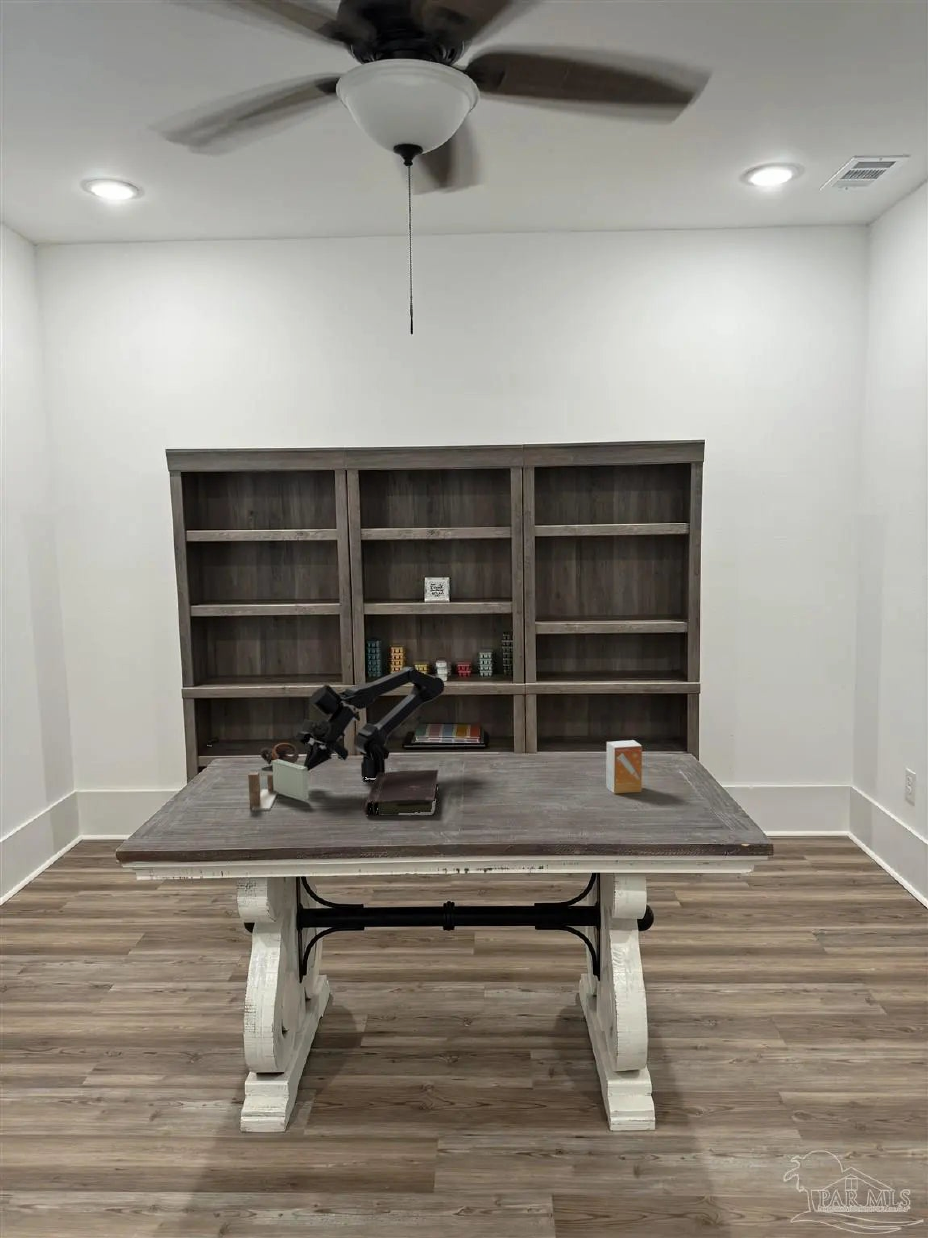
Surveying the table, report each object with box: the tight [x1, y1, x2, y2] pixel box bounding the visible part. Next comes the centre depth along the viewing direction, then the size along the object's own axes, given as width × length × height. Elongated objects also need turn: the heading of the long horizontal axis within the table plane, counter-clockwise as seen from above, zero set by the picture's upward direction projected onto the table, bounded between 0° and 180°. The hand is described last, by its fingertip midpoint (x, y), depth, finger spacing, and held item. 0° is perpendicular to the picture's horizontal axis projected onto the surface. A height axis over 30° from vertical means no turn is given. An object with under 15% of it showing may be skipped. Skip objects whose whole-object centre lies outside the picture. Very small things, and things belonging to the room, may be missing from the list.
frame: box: [247, 771, 279, 812], centre depth 235 cm, size 6×17×9 cm, turn 3°
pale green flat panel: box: [271, 759, 309, 801], centre depth 236 cm, size 13×2×8 cm, turn 48°
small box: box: [605, 739, 643, 795], centre depth 238 cm, size 8×6×13 cm
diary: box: [364, 769, 440, 816], centre depth 233 cm, size 19×25×5 cm
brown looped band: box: [259, 742, 300, 766], centre depth 266 cm, size 12×10×8 cm
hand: (304, 771), depth 238 cm, fingers closed
